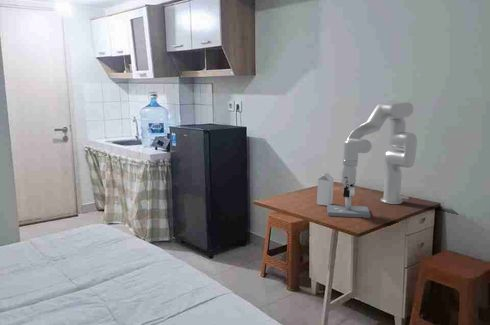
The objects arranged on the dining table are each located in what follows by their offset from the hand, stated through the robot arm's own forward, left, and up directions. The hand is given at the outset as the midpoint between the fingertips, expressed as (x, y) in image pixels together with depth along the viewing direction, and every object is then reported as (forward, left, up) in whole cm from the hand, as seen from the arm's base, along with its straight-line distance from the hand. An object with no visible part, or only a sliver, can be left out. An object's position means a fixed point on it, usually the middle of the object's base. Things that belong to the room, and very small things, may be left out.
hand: (348, 195), depth 232 cm
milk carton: (+12, -16, -10) cm, 22 cm away
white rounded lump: (0, 0, 0) cm, 0 cm away
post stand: (0, 0, -10) cm, 10 cm away
